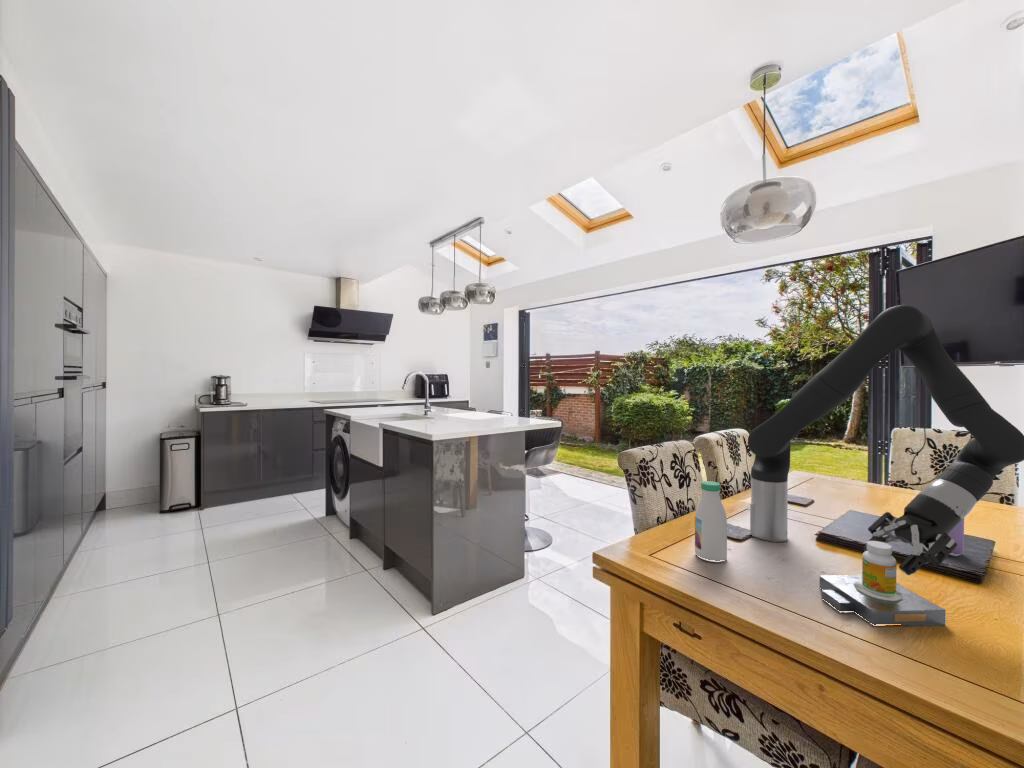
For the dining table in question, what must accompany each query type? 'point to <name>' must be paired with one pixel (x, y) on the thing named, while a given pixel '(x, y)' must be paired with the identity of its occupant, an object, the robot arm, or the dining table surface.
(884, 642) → the dining table surface
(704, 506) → the milk bottle
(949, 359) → the robot arm
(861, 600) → the grey coaster with tab
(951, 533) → the beverage can
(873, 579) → the supplement bottle
